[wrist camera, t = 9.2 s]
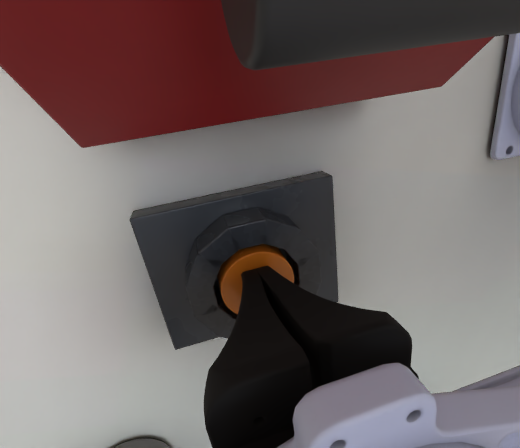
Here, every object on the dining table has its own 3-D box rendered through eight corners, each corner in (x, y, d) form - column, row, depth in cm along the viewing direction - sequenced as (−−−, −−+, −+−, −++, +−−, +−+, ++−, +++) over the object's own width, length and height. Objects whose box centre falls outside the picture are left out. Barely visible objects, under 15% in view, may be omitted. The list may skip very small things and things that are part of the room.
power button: (279, 229, 15) (290, 243, 13) (286, 287, 16) (298, 306, 15) (210, 246, 14) (213, 263, 13) (223, 304, 16) (228, 326, 14)
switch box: (322, 170, 16) (351, 183, 13) (330, 290, 19) (354, 320, 16) (133, 210, 14) (121, 234, 11) (175, 335, 17) (174, 377, 15)
